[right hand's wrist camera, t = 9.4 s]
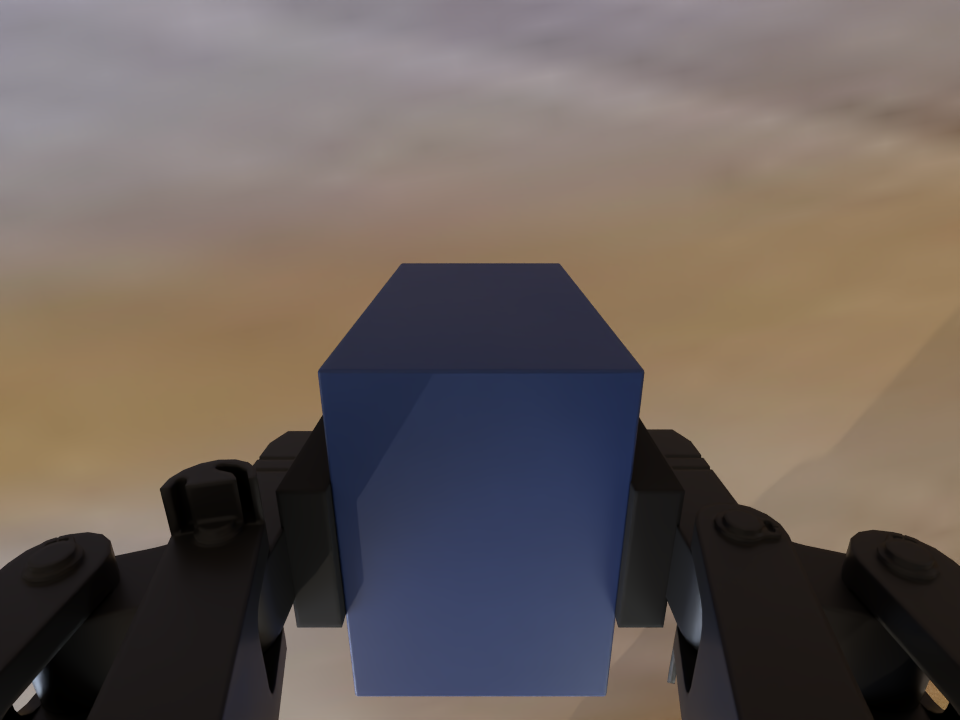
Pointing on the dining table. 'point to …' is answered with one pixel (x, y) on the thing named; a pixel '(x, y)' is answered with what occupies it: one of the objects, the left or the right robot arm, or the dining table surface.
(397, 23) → the dining table surface
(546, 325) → the block
